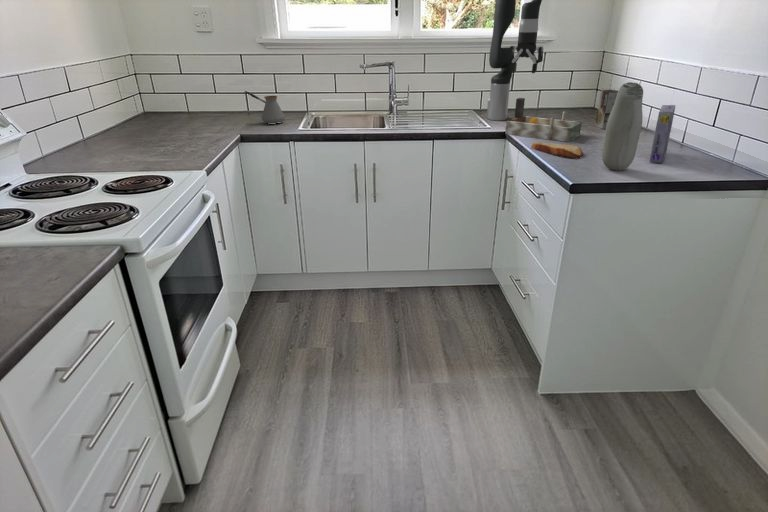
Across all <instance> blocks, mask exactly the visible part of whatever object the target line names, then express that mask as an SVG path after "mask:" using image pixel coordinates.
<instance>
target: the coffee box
mask: <svg viewBox="0 0 768 512" xmlns="http://www.w3.org/2000/svg"><path fill="white" fill-rule="evenodd" d="M617 93H618V90H617V89H601V90H600V95H599V100H598V101H599V102H598V106H597V107H598V108H597V113H596V119H595V124H594V126H595V127H598V128H600V129H602V130H606V127H607V122H608V118H609V116H610V113H611V111H612V108H613V106H614V104H615V100H616V97H617Z"/></svg>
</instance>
